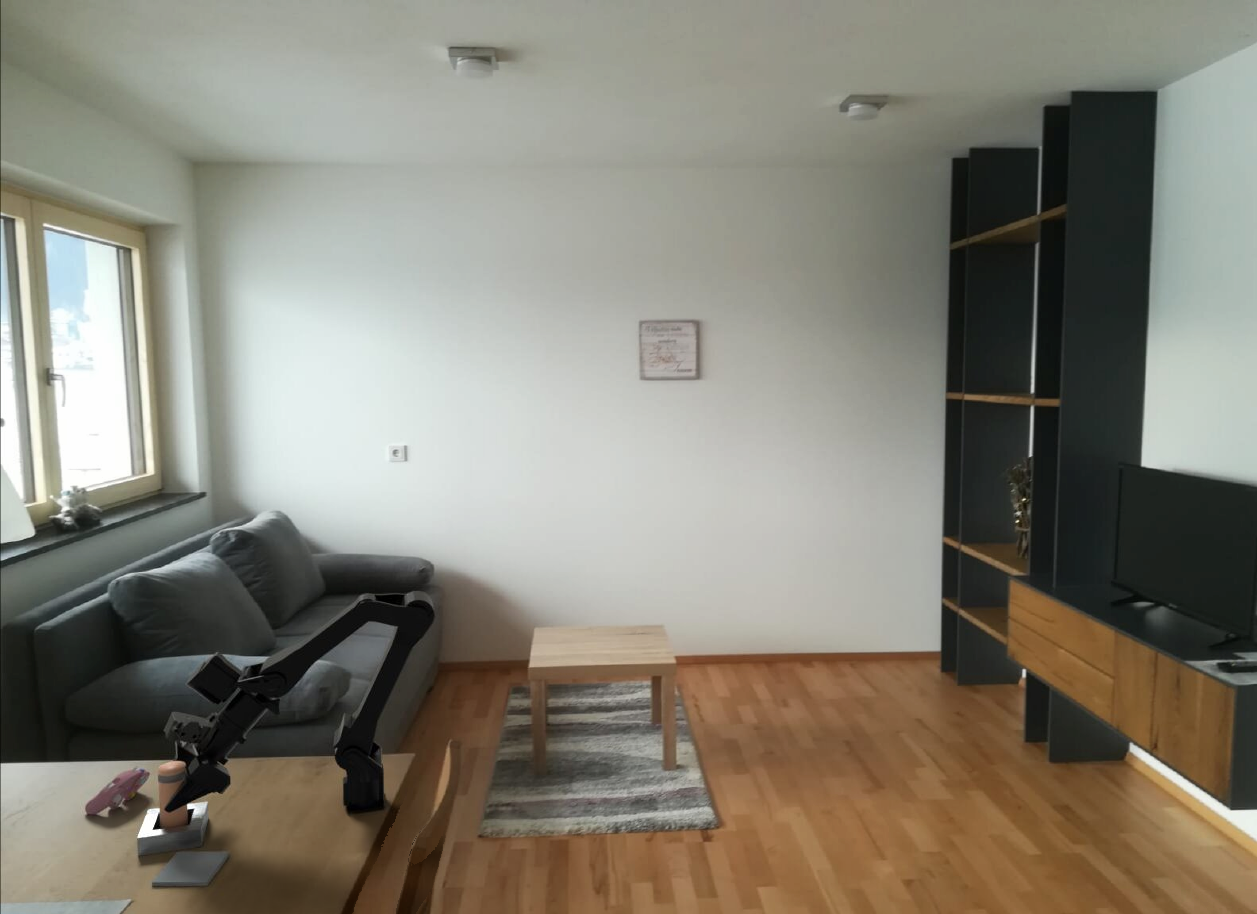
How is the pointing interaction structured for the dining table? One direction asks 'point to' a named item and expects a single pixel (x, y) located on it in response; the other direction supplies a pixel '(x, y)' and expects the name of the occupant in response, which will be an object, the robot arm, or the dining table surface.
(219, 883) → the dining table surface
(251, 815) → the dining table surface
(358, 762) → the robot arm
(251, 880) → the dining table surface
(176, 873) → the mat
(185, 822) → the pin
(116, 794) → the video game controller
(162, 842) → the eye block
